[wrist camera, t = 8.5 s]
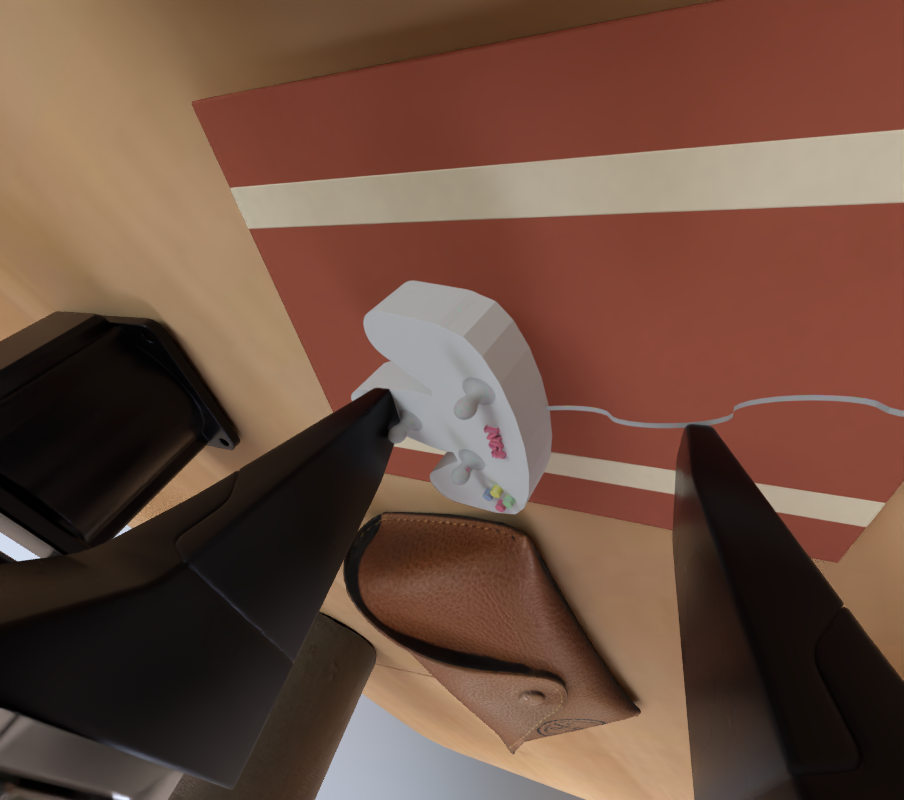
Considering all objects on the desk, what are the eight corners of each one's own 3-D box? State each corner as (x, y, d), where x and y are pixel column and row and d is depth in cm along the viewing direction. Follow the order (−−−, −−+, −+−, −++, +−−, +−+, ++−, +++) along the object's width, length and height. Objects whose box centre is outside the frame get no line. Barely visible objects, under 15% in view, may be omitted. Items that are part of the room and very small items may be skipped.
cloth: (834, 550, 12) (838, 564, 12) (363, 460, 17) (358, 468, 17) (1350, -123, 4) (1403, -130, 4) (203, 98, 10) (188, 102, 9)
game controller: (327, 315, 11) (258, 379, 9) (1096, -91, 4) (1429, -152, 2) (447, 468, 13) (410, 542, 12) (1055, 388, 6) (1197, 545, 5)
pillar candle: (328, 608, 33) (179, 882, 23) (399, 665, 38) (299, 916, 28) (260, 597, 39) (115, 814, 29) (328, 649, 44) (224, 852, 33)
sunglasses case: (654, 723, 24) (577, 837, 22) (560, 638, 30) (493, 723, 28) (523, 521, 15) (378, 679, 13) (427, 458, 21) (316, 562, 19)
